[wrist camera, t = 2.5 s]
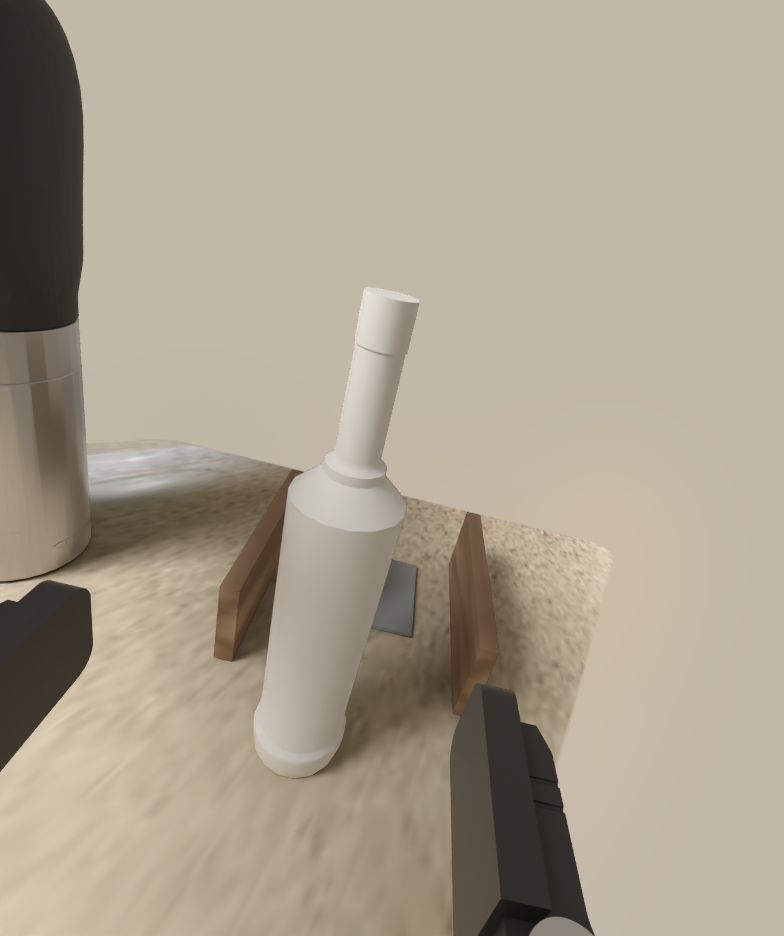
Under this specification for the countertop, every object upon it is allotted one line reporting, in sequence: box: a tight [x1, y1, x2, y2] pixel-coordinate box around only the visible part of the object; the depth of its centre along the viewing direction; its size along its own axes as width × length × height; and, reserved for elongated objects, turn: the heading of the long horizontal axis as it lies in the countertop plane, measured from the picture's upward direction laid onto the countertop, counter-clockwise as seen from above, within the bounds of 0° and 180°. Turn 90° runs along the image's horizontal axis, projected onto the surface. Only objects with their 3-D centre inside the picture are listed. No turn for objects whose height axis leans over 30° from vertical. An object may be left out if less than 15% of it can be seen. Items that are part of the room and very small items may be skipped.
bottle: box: [253, 287, 420, 779], centre depth 23 cm, size 5×5×25 cm
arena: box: [214, 470, 499, 715], centre depth 38 cm, size 17×16×6 cm
